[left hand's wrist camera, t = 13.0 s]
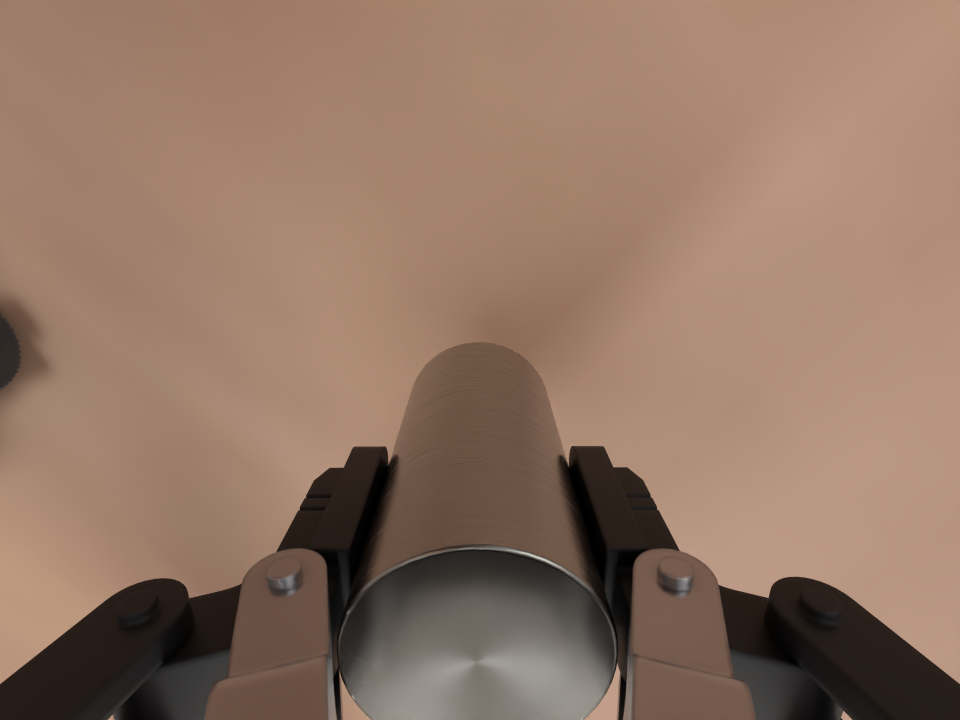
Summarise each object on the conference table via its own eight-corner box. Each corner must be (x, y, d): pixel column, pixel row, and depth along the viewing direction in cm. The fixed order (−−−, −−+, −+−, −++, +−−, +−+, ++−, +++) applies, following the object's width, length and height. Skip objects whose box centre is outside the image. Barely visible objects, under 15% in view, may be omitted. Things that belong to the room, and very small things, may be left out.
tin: (385, 422, 17) (284, 689, 8) (459, 314, 15) (433, 494, 7) (496, 487, 17) (511, 790, 9) (575, 390, 16) (679, 633, 8)
